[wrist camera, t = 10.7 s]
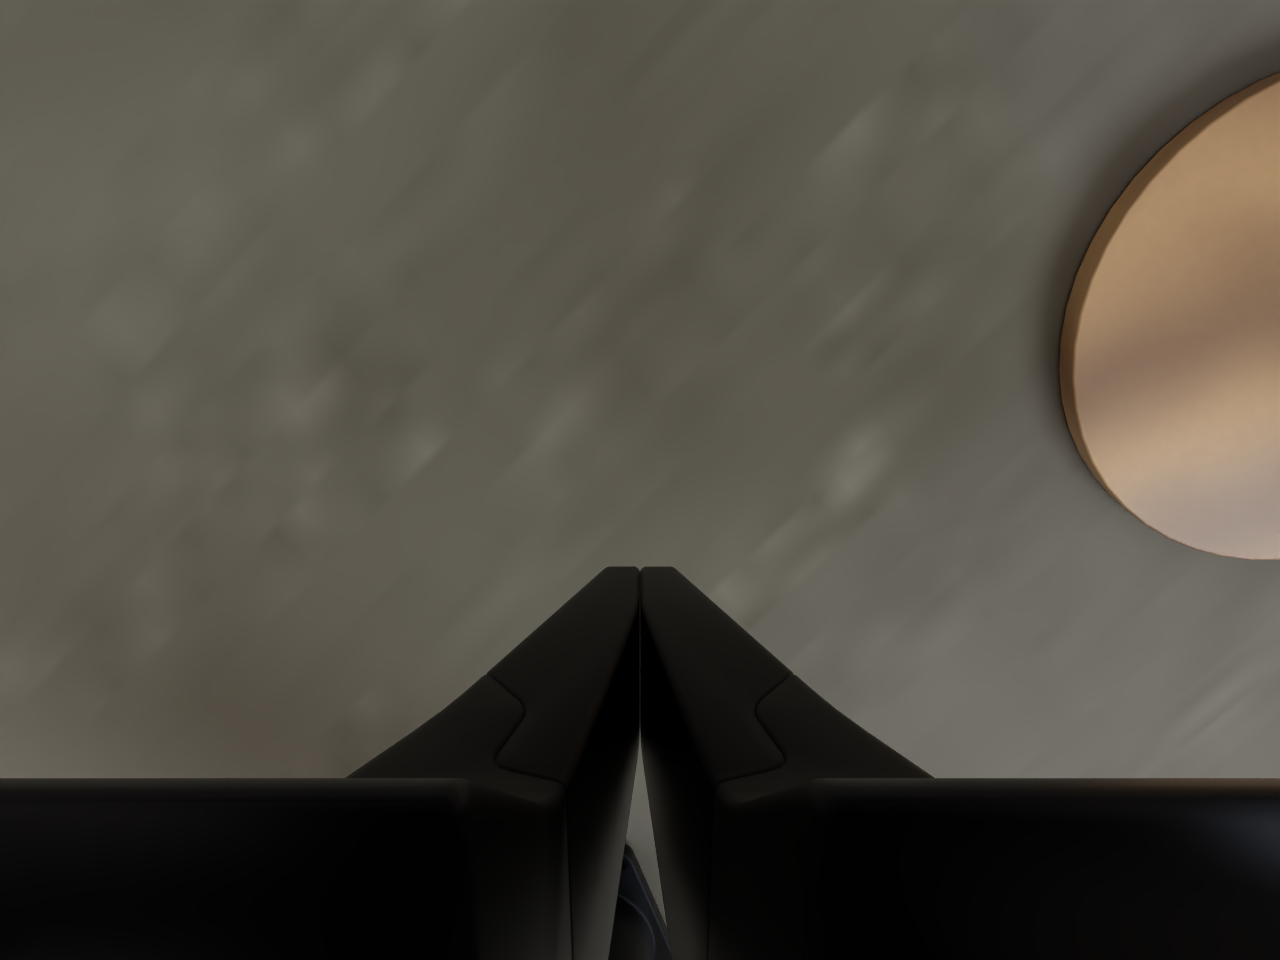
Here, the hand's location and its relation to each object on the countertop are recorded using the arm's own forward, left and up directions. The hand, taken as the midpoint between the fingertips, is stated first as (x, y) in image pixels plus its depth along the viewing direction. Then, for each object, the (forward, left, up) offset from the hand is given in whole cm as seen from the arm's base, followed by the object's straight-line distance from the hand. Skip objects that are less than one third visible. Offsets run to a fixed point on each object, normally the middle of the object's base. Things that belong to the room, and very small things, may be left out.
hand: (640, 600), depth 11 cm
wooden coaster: (-4, -16, -12) cm, 20 cm away
